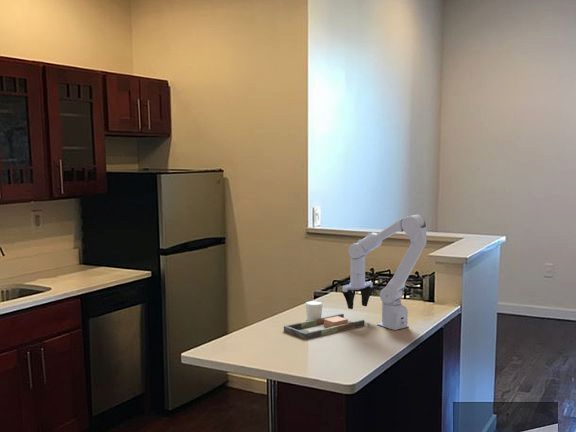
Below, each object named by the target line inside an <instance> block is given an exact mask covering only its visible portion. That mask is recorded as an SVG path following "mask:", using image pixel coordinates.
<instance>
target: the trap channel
mask: <svg viewBox="0 0 576 432" xmlns="http://www.w3.org/2000/svg"><path fill="white" fill-rule="evenodd" d="M335 316H339V317H342V318H345V317H344V313H340V314H339V313H338V314H334V315H329V316H325V317H321V318H319V319H314V320H310V321H308V320H306V321H301V322H297V323H291V324H286V325H284V326H283V332H284V331H285V333H287V334H290V335H293V336H296V337H298V338H301V339H304V340H310V339H312V338H316V337H321V336H325V335H329V334H333V333H338V332H343V331H346V330H351V329H355V328H356V329H357V328H360V327H363V326H365V323H366V322H365V320H364V319H362V320H355V321H351V320H348V323H347V324H342V325H338V326H334V327H326V328H322V329H321V328H320V329H316V330H313V331H310V330H306V329H304V328H308V327H313V326H317V325H324V319H326V318H331V317H335Z"/></svg>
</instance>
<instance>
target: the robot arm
mask: <svg viewBox="0 0 576 432" xmlns="http://www.w3.org/2000/svg"><path fill="white" fill-rule="evenodd" d="M427 228H428V224H427V222H426V219H425V218H424V216H422V215H421V214H417V213H415V214H413V215H408V216H405V217H403V218H401V219H398V220H396V221H394V222H393V223H392V224H390V225H389V226H387V227H385V228H384V229H383V230H381V231H379V232H378V233H377V232H368V233H367V234H366V236H365V237H364V238H362V239H358V240H357V242H354V243H351V245H350V246H349V247H348V250H347V251H348V255H349V256H350V270H349V271H350V275H349V276H350V278H349V279H350V280H349V281H350V282H349V284H345V285H343V286H341V287H342V288H341V289H342V290H341V292H342V295H343V297H344V298H345V301H346V305H347V308H348V310H354V309H353V308H354V300H355V295H356V292H354V291H355V290H359V291H360V296H361V306H363V307H367V306H368V304H369V300H370V298H371V295H372V293H373V292H374V289H373V285H374V284H373V282H371V281H366V256H367V254H368V253H370V252H372V251H373V250H375V249H377V248H378V247H380V246H382V243H383V240H386V239H388V238H389V237H390V236H392V235H393V236H394V235H395V234H397V233H399V232H400V233H403V232H404V234H406V235H407V237H408V239H409V241H410V244H409V246H408V249H407V250H406V252H405V254H404V256H403V257H402V259H401V261H400V263H399V265H398V267H397V269H396V270H395V272H394V274H393V276H392V277H391V279H390V280H389V281H388V283H386V286H385V287H384V288H382V289H381V290H380V292H379V298H380V300H381V322H378V323H376V325H377V326H380V327H383V328H387V329H391V330H393V331H396V330H399V329H404V328H408V327H410V325H409V324H408V319H409V318H408V308H407V306H405V305H403V304H402V299H401V298H403V296H404V289H405V287H406V282H407V280H408V279H409V276H410V275H411V273H412V271H413V270H414V267H415V265H416V263H417V261H418V260H419V258H420V257H421V254H422V252H423V250H424V248H425V247H426V246H427V243H428V242H427Z"/></svg>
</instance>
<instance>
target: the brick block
mask: <svg viewBox="0 0 576 432" xmlns="http://www.w3.org/2000/svg"><path fill="white" fill-rule="evenodd" d="M348 321H349V319H348V318H345V317H344V318H342V317H339V316H335V317H331V318H326V319H324V323H323V326H324V327H326V328H329V327H334V326H338V325H342V324H347V323H348Z"/></svg>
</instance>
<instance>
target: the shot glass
mask: <svg viewBox="0 0 576 432" xmlns="http://www.w3.org/2000/svg"><path fill="white" fill-rule="evenodd" d="M305 311H306V312H305V313H306V321H310V320H314V319H319V318H322V314H323V313H322V312H323V302H322V301H318V300H308V301H305Z"/></svg>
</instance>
